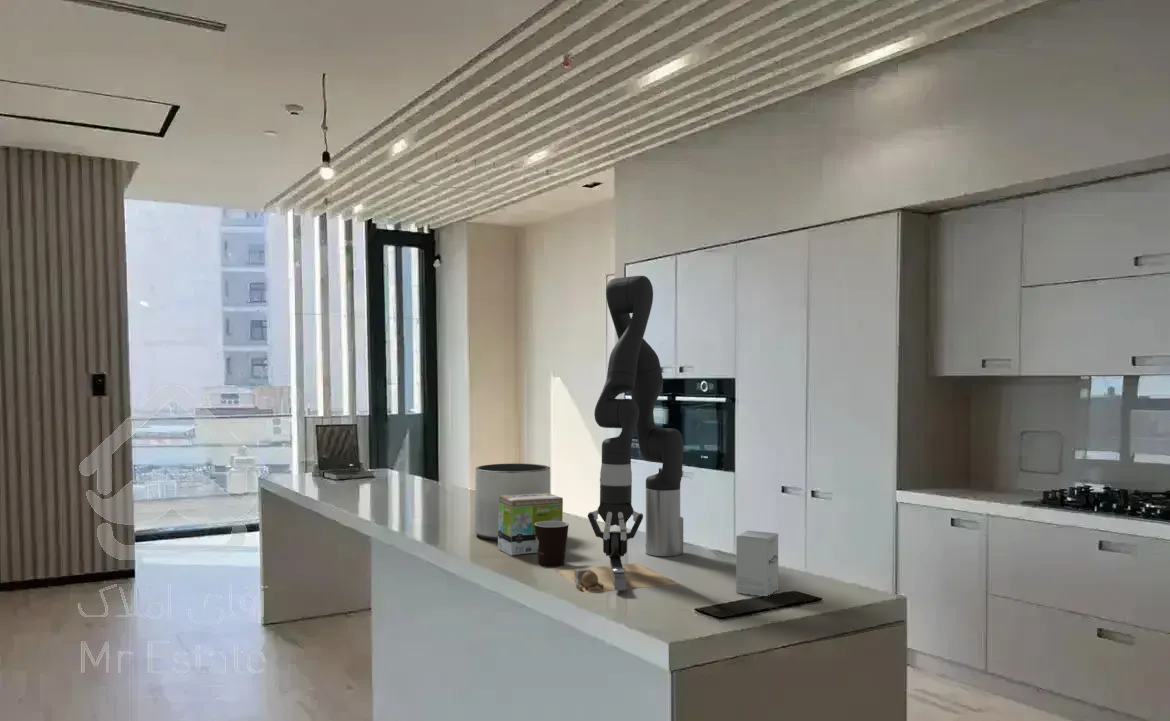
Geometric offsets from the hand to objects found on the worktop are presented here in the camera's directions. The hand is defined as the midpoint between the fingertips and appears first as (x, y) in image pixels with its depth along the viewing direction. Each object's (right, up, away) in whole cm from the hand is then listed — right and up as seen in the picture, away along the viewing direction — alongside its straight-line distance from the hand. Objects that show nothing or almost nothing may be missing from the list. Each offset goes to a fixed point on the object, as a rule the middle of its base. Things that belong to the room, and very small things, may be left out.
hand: (614, 555), depth 193 cm
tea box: (-22, -5, +27) cm, 35 cm away
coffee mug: (-15, -5, +12) cm, 20 cm away
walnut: (-6, -3, -17) cm, 18 cm away
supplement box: (+31, -5, -15) cm, 35 cm away
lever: (0, -2, -10) cm, 11 cm away
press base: (-1, -4, -7) cm, 9 cm away
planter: (-29, -6, +48) cm, 56 cm away
